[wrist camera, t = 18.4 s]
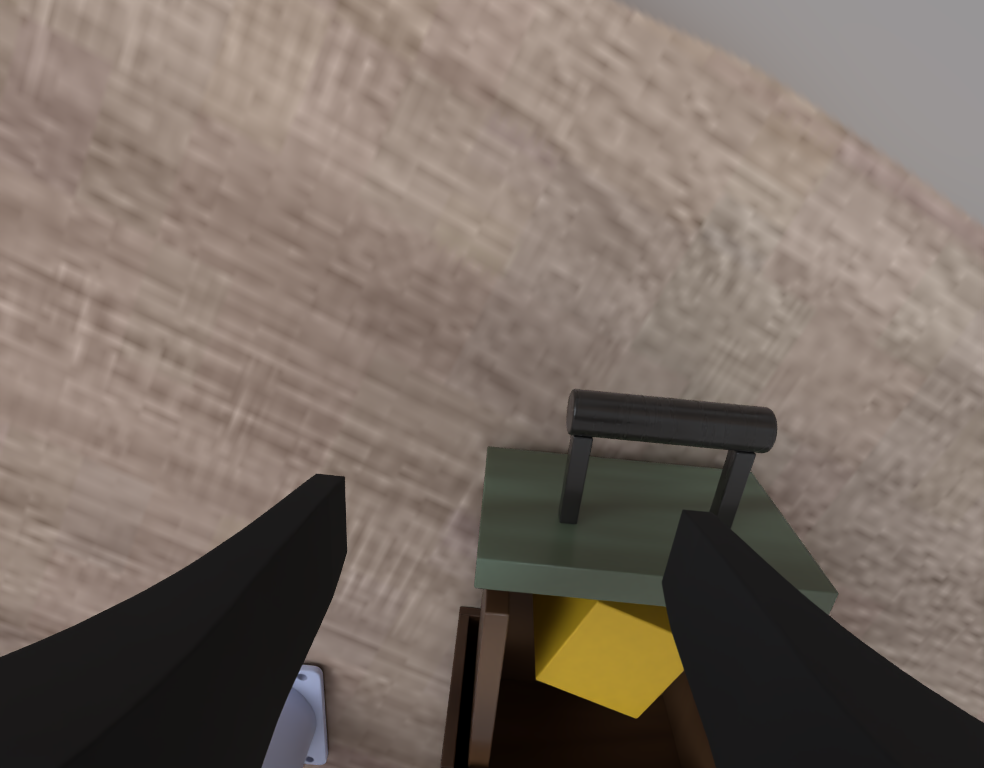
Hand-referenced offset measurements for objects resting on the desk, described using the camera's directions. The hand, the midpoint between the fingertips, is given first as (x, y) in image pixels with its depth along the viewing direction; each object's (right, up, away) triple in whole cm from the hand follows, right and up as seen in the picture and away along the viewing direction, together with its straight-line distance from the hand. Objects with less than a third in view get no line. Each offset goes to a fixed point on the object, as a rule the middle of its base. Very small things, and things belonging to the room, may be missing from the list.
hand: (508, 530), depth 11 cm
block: (+4, -5, +12) cm, 13 cm away
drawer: (+4, -4, +12) cm, 13 cm away
